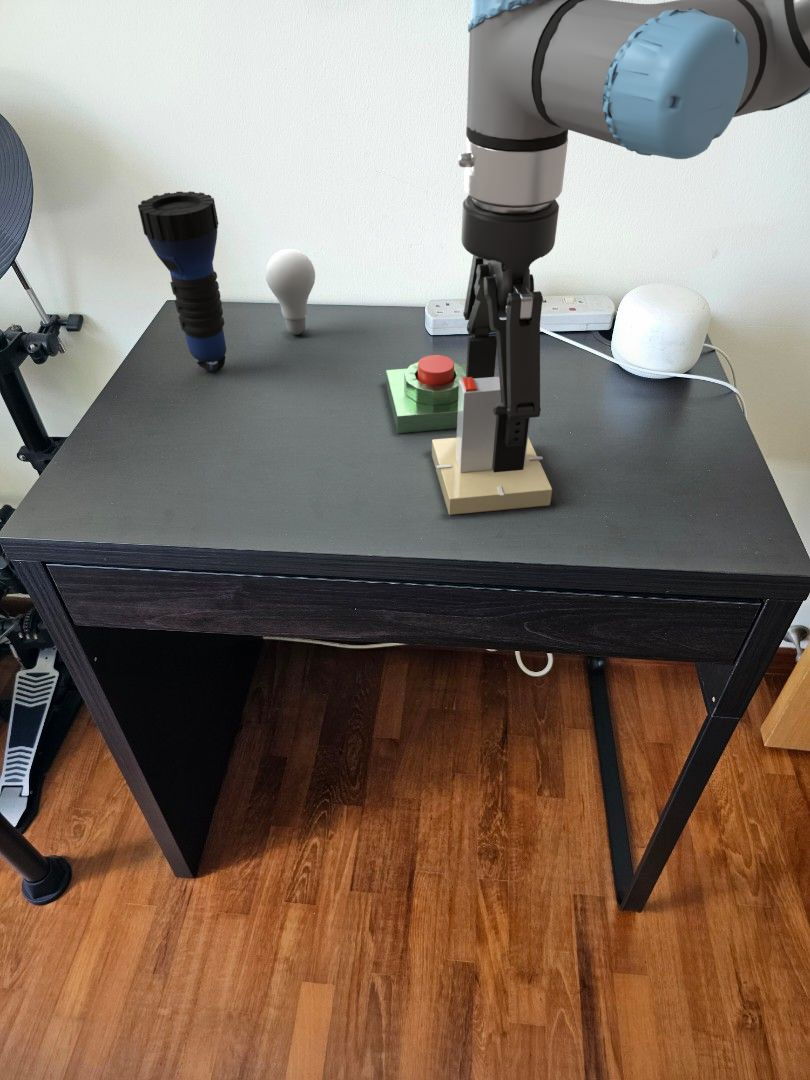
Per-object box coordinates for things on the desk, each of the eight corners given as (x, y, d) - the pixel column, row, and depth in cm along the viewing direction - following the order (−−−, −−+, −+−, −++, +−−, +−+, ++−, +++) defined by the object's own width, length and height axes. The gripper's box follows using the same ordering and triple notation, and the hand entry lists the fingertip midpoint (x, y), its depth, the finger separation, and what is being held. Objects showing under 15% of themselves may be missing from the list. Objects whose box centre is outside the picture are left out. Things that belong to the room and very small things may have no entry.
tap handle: (518, 453, 80) (527, 371, 74) (524, 467, 78) (534, 384, 72) (455, 458, 79) (459, 377, 73) (460, 472, 77) (464, 390, 71)
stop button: (456, 385, 87) (457, 371, 85) (420, 388, 86) (420, 374, 85) (450, 367, 90) (450, 353, 88) (415, 370, 89) (415, 356, 88)
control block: (487, 426, 87) (489, 394, 84) (397, 433, 86) (397, 401, 83) (469, 379, 94) (470, 349, 92) (386, 386, 93) (385, 356, 91)
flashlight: (177, 357, 99) (140, 191, 86) (241, 352, 100) (214, 187, 87) (174, 390, 93) (134, 217, 80) (242, 384, 94) (213, 212, 81)
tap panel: (554, 507, 76) (557, 489, 75) (445, 517, 75) (446, 500, 74) (526, 444, 84) (528, 427, 83) (427, 453, 83) (428, 436, 82)
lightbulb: (266, 342, 102) (255, 258, 95) (282, 321, 106) (272, 239, 99) (311, 347, 101) (304, 262, 94) (325, 325, 105) (319, 243, 98)
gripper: (437, 153, 70) (433, 371, 84) (499, 261, 52) (480, 513, 67) (520, 149, 71) (501, 366, 85) (608, 254, 53) (566, 505, 67)
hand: (492, 430), depth 76 cm, fingers open, 12 cm apart
